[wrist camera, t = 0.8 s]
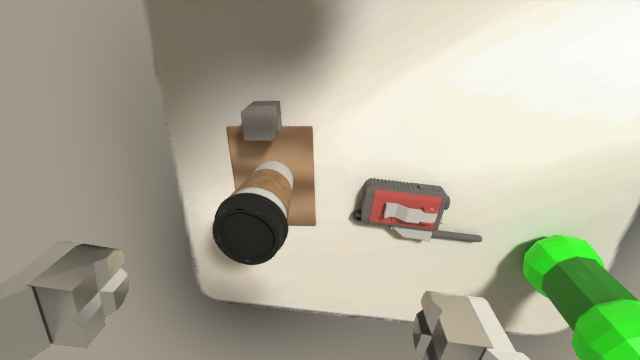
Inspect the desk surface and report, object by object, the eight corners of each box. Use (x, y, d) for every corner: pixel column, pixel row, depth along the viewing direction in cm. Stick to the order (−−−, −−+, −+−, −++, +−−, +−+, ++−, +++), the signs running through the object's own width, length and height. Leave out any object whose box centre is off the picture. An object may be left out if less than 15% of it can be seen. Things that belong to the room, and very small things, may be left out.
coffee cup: (299, 151, 46) (279, 203, 32) (304, 203, 49) (288, 269, 36) (241, 153, 46) (198, 205, 33) (250, 204, 50) (215, 270, 36)
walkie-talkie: (350, 224, 51) (476, 239, 51) (350, 240, 47) (487, 257, 47) (358, 174, 47) (495, 190, 47) (359, 187, 43) (508, 205, 43)
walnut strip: (223, 101, 44) (205, 112, 38) (311, 100, 43) (306, 111, 37) (241, 223, 52) (229, 246, 46) (315, 224, 51) (312, 248, 45)
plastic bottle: (587, 218, 47) (807, 393, 25) (575, 274, 52) (753, 465, 29) (514, 225, 49) (660, 397, 26) (509, 279, 53) (630, 465, 30)
